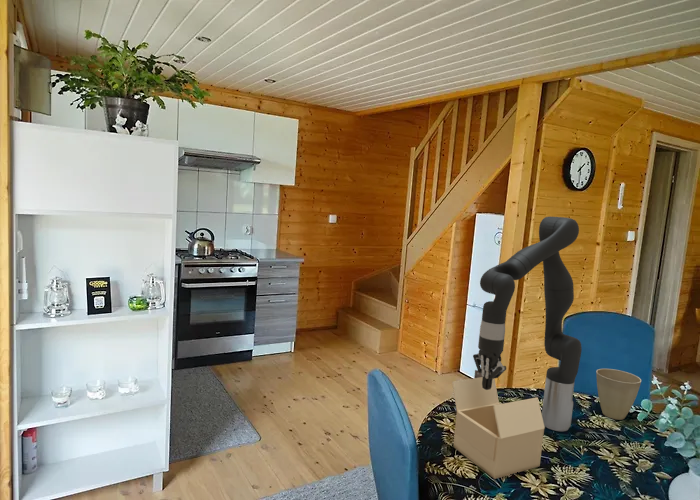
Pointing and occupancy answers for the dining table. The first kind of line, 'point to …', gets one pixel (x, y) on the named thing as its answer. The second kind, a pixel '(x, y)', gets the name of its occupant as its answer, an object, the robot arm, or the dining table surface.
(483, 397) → the flap
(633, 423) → the dining table surface
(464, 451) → the carton
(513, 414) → the flap
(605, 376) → the plant pot
